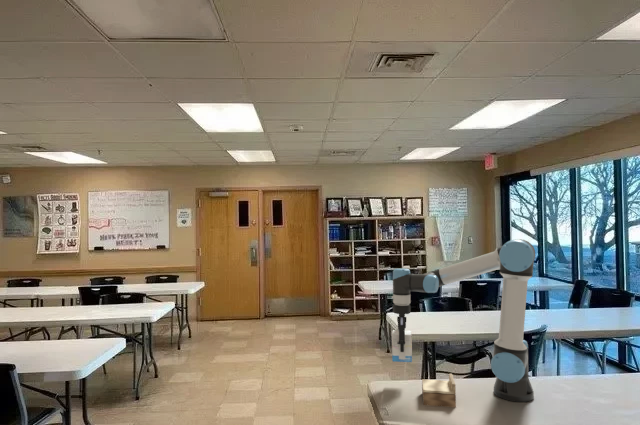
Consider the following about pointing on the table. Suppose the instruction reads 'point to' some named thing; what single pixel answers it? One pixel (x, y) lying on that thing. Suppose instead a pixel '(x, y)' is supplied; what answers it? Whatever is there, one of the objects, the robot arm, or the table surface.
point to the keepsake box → (439, 399)
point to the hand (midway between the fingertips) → (402, 355)
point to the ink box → (396, 346)
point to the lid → (439, 386)
